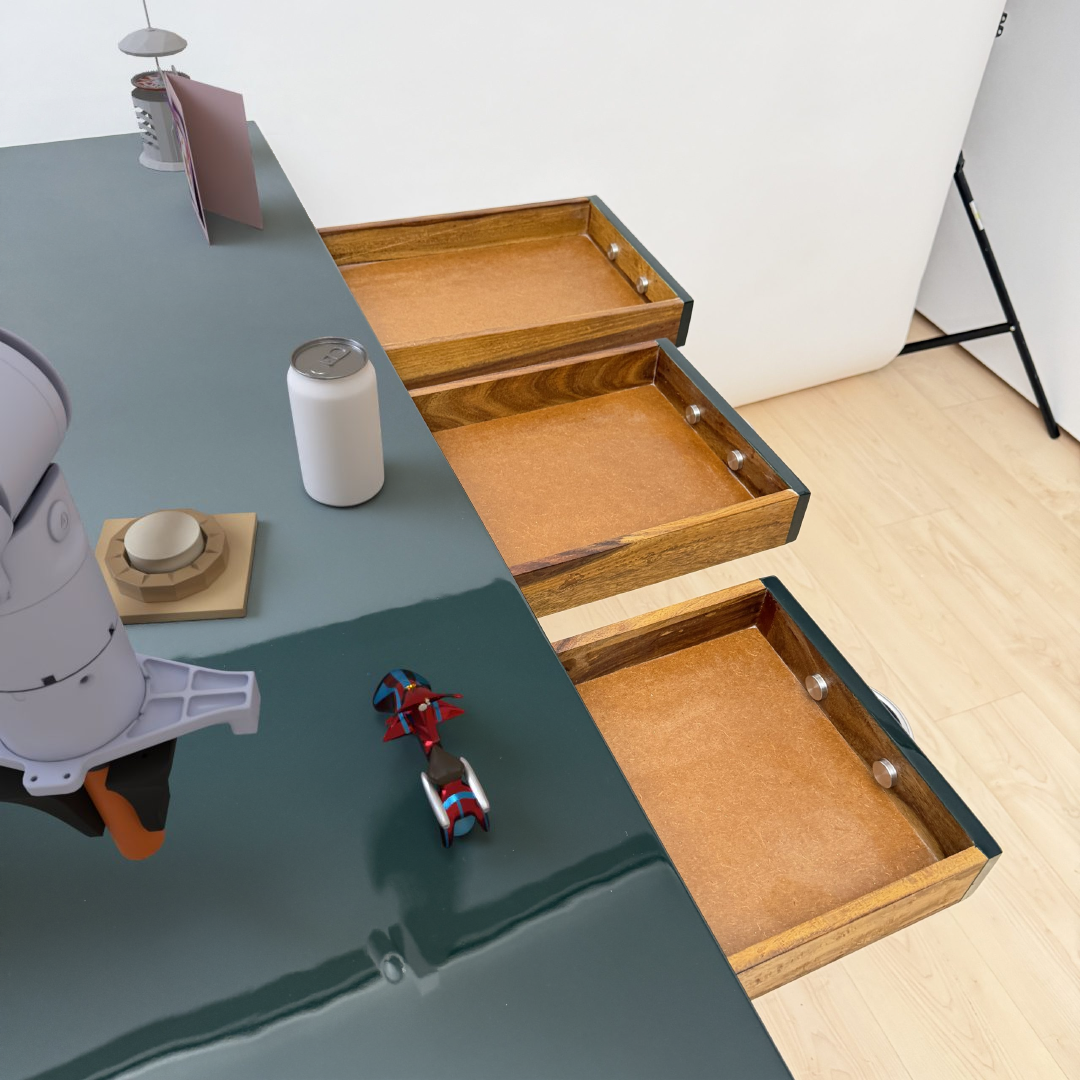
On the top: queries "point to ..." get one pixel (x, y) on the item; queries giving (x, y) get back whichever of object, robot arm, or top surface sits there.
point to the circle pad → (164, 542)
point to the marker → (121, 817)
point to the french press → (155, 96)
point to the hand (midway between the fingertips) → (129, 815)
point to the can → (336, 420)
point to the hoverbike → (433, 751)
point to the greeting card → (215, 150)
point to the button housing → (183, 572)
